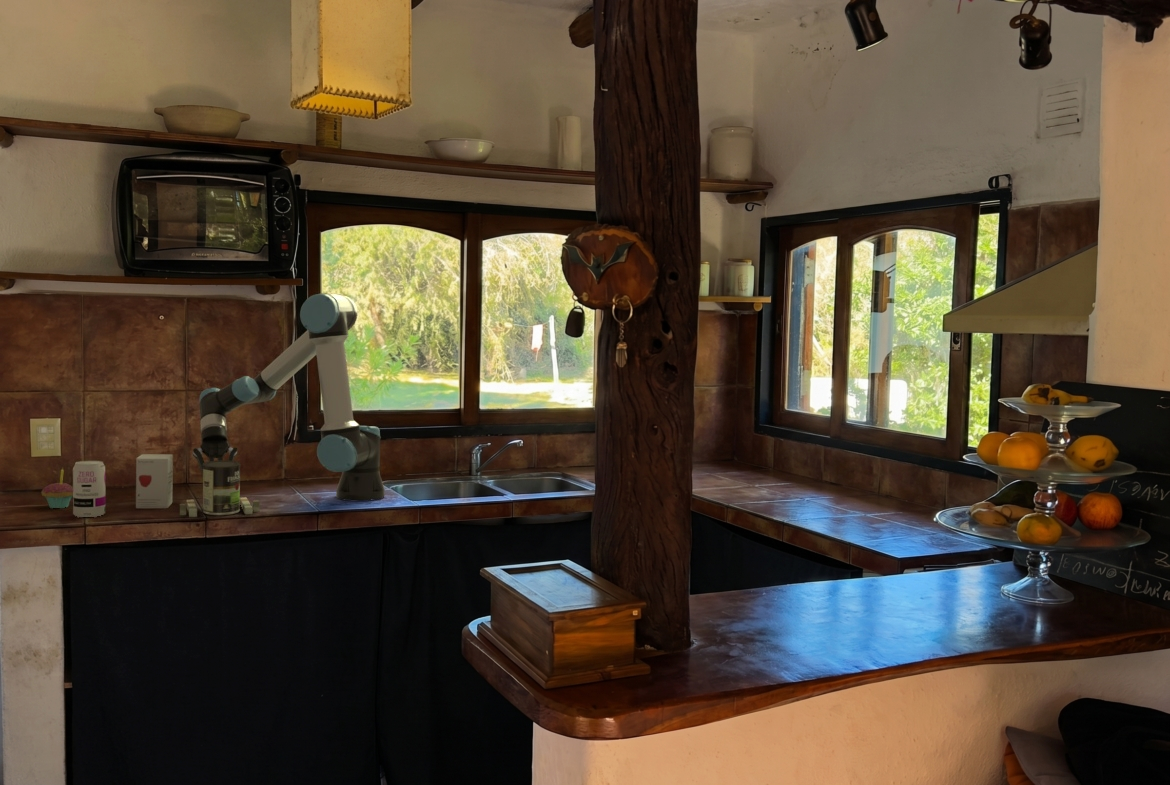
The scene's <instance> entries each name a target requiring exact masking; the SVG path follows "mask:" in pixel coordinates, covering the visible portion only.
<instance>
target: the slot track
mask: <svg viewBox="0 0 1170 785" xmlns="http://www.w3.org/2000/svg"><path fill="white" fill-rule="evenodd" d="M195 502H196V501H195V500H194V499H186V502H185V503H179V516H187V513H188V518H197V517H198V508H197V506H196V503H195ZM240 505H241V506H240V507H242V508H241V510H242V509H243V510H242V511H243V513H244V514H245V515H253V512H254V513H257V512H260V500H253V501H252V504H251V503H250V501H249V499H248V498H247V497H246V496H245V497H243V496H242V497H240Z"/></svg>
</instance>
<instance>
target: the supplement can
mask: <svg viewBox="0 0 1170 785" xmlns="http://www.w3.org/2000/svg"><path fill="white" fill-rule="evenodd" d="M72 487H73V496H72V514H73V515H74V517H76V516H77V517H76V518H79V517H94V518H98V517H97V516H100V517H102V516H101V515H103V516H104V514H106V510H107V509H106V506H107V505H106V503H107V502H106V497H107V496H106V465H105V464H104V461H101V460H82V461H81V460H80V461H76V462H75V464H74V466H73V468H72Z"/></svg>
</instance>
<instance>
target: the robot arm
mask: <svg viewBox="0 0 1170 785" xmlns="http://www.w3.org/2000/svg"><path fill="white" fill-rule="evenodd" d="M299 317H300V321H301V324H302V325H303V327H304V328H305V329H306V331H305V332H304V333H302V334H301V336H299V337H298V338H297V339H296V340H295V341H294V342H293V343H292V344H290V345H289V347H287V348H286V349H285V350H283V352H281V353H280V354H279V356H277V357H276V358H275V359H274V360H273V361H272V362H270V364H268V365H267V366H266V367H265V368H264V369H263V370H262V371H261V372H260V373H259V374H258V375H257V376H255V377H254V378H253V377H251V376H249V375H245V376H242V377H240V378H237V379H235V380H234V381H233V382H230V384H228V385H226V386H224V387H222V388H217V387H211V388H206V389H204V390H202V391H201V393H200V394H199V401H198V402H199V403H198V406H199V414H200V415H199V416H200V432H201V434H200V438H201V444H200V445H199V447H198V448H193V450H192V456H193V457H194V458H195V459H196V462H197V464H198V466H199V469H200V472H201V474H202V476H203V463H205V460H204V457H203V455H202V454H204V456H206V457H207V458H208V462H209V461H215V460H214V459H217V461H220V460H224V458H223V457H224V456H225V455H226V454H227V453H228V455H229V457H228V459H227V461H234V458H236V456H237V454H238V448H237V447H231V446H230V444H229V442H228V440H229V438H228V432H227V430H228V428H227V426H228V425H227V414H229V413H230V412H233V411H234V410H236V409H238V408H240V407H241V406H245V405H249V404H251V405H252V404H256V403H266V402H268V401H271V400H272V399H274V398H275V396H276V394H277V391H278V390H279V388H281V386H283V385H284V384H285V383H286V382H288V380H290V379H291V378H292V377H293V376H294V375H295V374H296V373H297V372H298V371H300V370H301V369H302V368H303V367H305V365H306V364H308V363H309V362H310V361H311V360H312V359H313V358H314V357H315V356H316V362H317V370H318V376H319V377H318V378H319V384H320V385H319V386H320V395H321V401H322V402H321V403H322V411H323V412H322V413H323V418H324V424H323V425H322V426H321V428H320V436H321V440H319V443H318V445H317V447H316V456H317V458H318V461H319V463H320V464H321V465H322V466H323V467H324V468H325V469H327V470H328V471H330V472H333V473H341V476H340V479H339V481H338V484H337V487H336V490H335V491H336V492H335V493H336V494H335V495H336V496H335V497H336V498H337V499H339V498H340V499H339V500H343V499H345V500H344V501H351V500H368V501H372V500H371V499H377V500H380V499H379V498H381V499H383V498H382V497H384V496H385V495H386V493H385V492H386V491H385V487H384V483H383V480H382V477H381V474H380V460H381V459H380V458H381V457H380V456H381V438H382V437H381V432H380V431H381V430H380V428H379V427H378V426H374V425H373V426H369V425H360V424H359V423H358V422H357V421H356V420H354V414H353V413H354V412H353V407H352V406H353V405H352V397H351V389H350V379H349V371H348V363H347V355H346V346H345V342H346V340H347V339H348V337H349V331H350V330H351V329H352V328H353V327H354V326H355V324H356V322H357V319H358V308H357V305H356V303H355V302H354V301H353V300H352V299H351V298H350V297H349V296H346V295H344V294H338V293H337V294H336V293H327V292H326V293H323V292H322V293H318V294H317V293H316V294H313V295H310V296H309V297H308V298H307V299H306V300H305V301H304V302H303V304H302V306H301V308H300V312H299ZM384 498H385V497H384Z"/></svg>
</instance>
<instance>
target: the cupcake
mask: <svg viewBox="0 0 1170 785" xmlns="http://www.w3.org/2000/svg"><path fill="white" fill-rule="evenodd" d="M61 468H62V469H61V470H60V477H59V482H57V483H56V482H55V483H50V484H48V485H46V486H45V487H44V488H42V489H41V496H42V497H45V499H46V501H47V503H48V506H49V508H50V509H53V508H60V509H66V508H68V507H69V505H70V502H71V500H72V499H73V485H71V484H69V483H68V482H67V483H65V482H63V478H64V471H65V470H64V467H61ZM65 507H66V508H65Z"/></svg>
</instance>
